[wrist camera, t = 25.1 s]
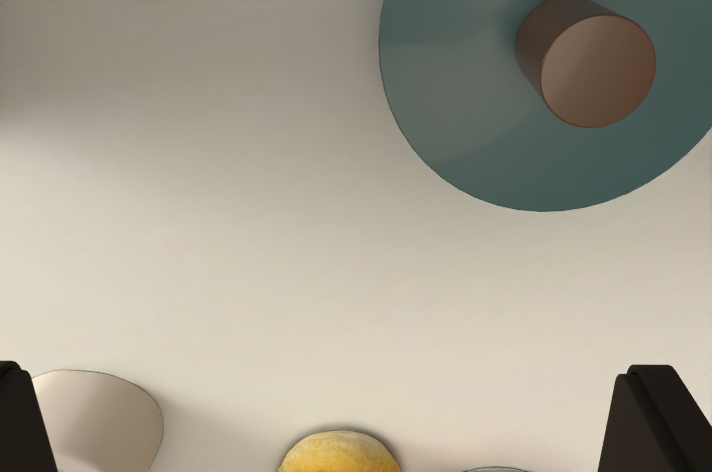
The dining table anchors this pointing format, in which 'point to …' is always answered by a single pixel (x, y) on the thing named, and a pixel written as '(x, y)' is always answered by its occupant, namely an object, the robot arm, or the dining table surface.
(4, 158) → the dining table surface
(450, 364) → the dining table surface
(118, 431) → the lumpy-topped squat cylinder
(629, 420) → the robot arm
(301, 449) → the bread roll
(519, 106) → the lid
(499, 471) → the canned food
